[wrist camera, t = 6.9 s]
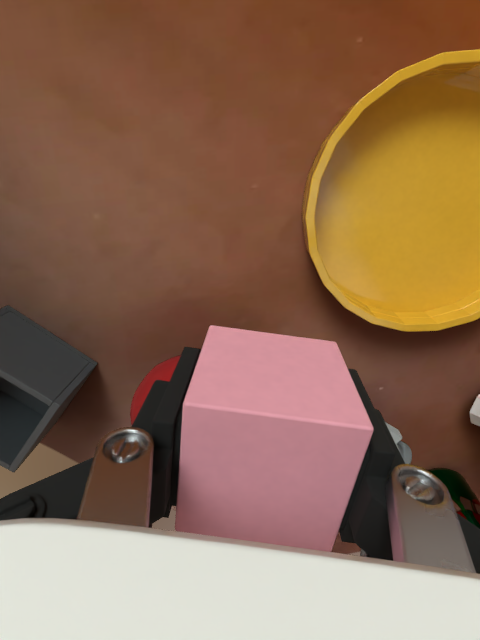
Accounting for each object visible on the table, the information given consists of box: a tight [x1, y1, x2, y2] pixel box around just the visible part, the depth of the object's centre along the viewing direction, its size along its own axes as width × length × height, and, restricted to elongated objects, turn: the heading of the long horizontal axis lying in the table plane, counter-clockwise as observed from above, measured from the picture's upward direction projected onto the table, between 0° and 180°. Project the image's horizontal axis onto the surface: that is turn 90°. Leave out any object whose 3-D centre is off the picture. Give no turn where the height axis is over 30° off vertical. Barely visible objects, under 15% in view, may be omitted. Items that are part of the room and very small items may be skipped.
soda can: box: [428, 468, 480, 529], centre depth 30 cm, size 5×5×12 cm
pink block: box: [175, 325, 374, 552], centre depth 11 cm, size 4×4×4 cm
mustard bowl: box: [302, 49, 480, 331], centre depth 24 cm, size 17×17×3 cm
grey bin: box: [0, 305, 98, 472], centre depth 30 cm, size 9×9×6 cm
